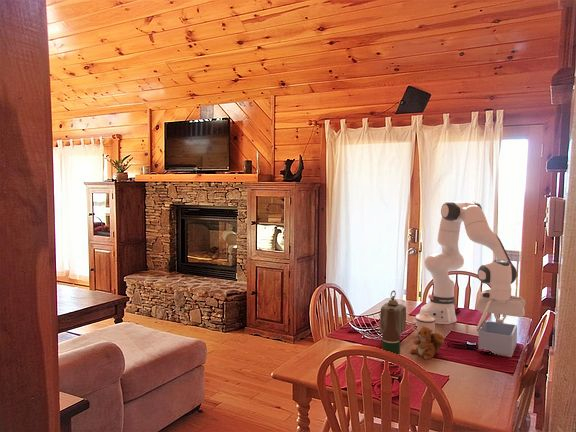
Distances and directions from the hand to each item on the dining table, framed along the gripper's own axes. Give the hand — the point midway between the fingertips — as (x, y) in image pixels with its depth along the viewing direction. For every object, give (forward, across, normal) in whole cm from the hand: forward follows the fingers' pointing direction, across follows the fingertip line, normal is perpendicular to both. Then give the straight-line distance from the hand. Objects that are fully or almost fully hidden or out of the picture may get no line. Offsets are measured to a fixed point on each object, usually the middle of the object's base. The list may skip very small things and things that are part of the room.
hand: (500, 323), depth 216 cm
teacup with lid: (+12, +36, +1) cm, 38 cm away
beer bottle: (+12, +37, +46) cm, 60 cm away
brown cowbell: (+12, +47, +15) cm, 51 cm away
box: (+12, +1, 0) cm, 12 cm away
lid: (-4, +6, 0) cm, 7 cm away
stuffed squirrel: (+12, +26, +26) cm, 39 cm away
